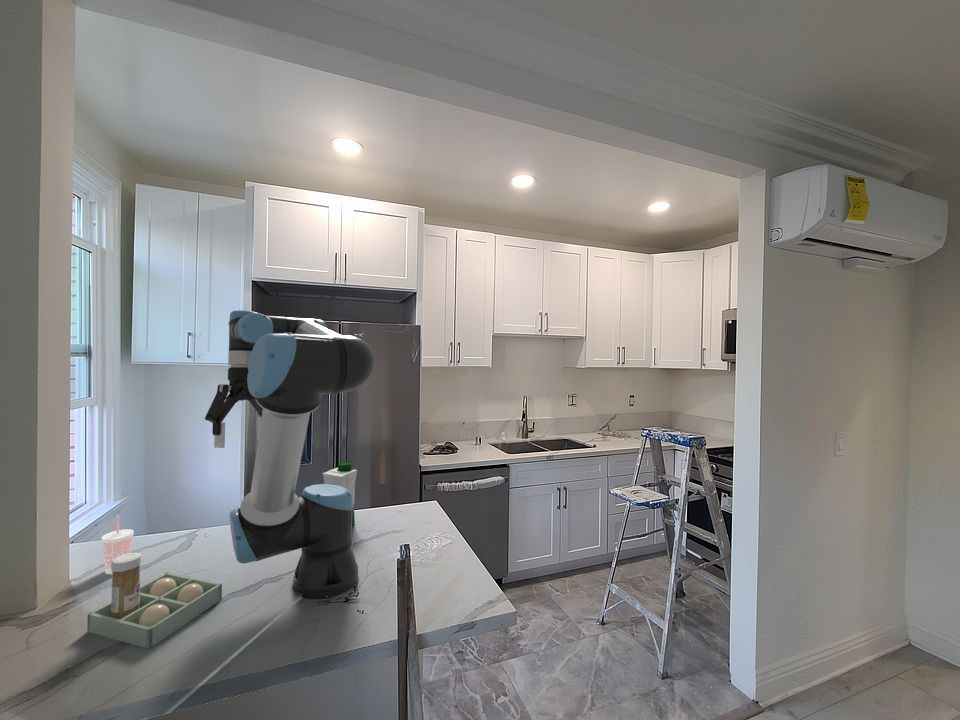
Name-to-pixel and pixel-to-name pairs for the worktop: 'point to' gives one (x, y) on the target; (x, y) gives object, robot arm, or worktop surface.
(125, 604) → the sprinkles bottle
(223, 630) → the worktop surface
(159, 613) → the egg
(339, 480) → the milk carton
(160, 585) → the egg
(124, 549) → the beverage cup
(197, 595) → the egg
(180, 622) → the carton
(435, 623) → the worktop surface
